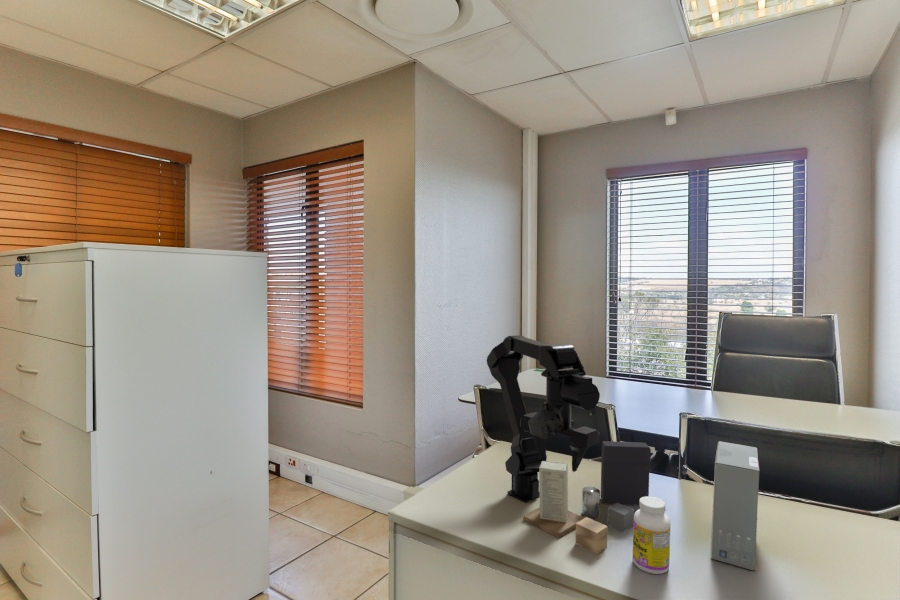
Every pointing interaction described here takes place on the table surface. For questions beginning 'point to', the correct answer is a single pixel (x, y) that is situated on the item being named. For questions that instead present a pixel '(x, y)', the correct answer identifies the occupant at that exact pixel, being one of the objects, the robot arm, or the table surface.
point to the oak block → (591, 535)
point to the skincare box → (553, 491)
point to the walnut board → (553, 523)
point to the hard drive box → (735, 505)
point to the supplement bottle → (651, 536)
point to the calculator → (624, 472)
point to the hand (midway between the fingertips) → (557, 464)
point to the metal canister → (591, 502)
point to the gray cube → (620, 517)
